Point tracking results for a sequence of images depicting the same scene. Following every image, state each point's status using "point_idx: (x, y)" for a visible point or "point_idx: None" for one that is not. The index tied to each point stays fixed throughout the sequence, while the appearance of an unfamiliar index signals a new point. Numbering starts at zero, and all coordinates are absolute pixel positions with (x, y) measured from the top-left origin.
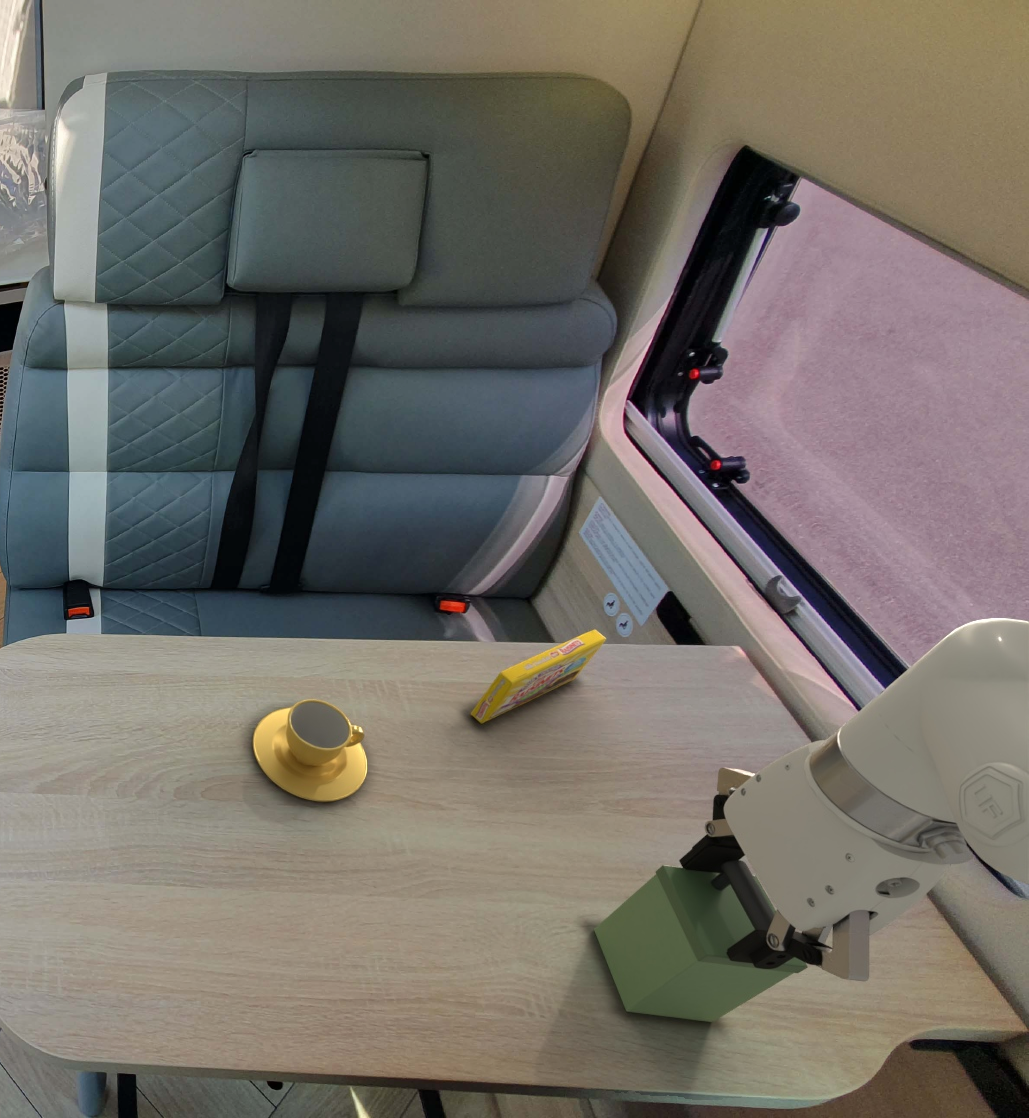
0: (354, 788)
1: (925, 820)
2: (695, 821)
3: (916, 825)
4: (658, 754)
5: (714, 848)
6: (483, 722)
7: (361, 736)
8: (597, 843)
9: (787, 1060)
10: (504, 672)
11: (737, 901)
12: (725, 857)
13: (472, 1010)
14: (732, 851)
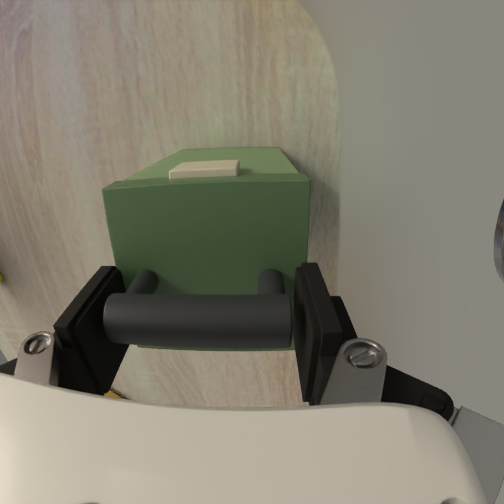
0: (114, 394)
1: None
2: (35, 82)
3: None
4: None
5: (105, 385)
6: (1, 277)
7: None
8: (80, 200)
9: (311, 82)
10: None
11: (175, 257)
12: (103, 330)
13: (289, 362)
14: (91, 347)
